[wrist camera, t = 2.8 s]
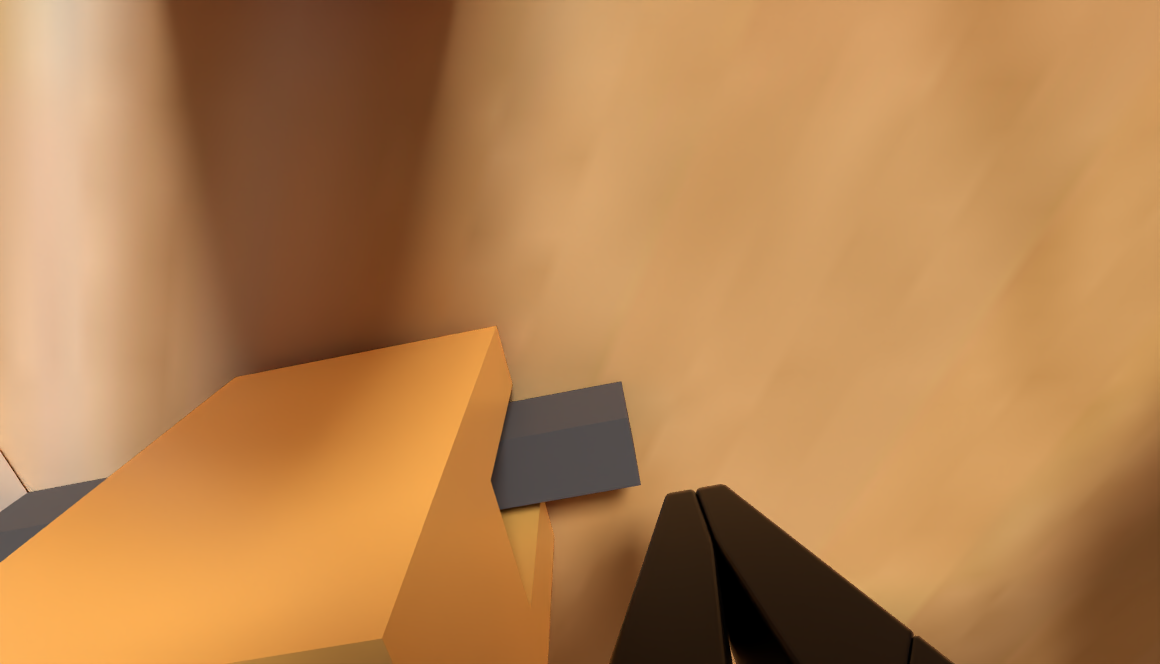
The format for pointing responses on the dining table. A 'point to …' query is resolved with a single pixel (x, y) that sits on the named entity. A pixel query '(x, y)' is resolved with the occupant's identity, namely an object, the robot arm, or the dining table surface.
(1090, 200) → the dining table surface
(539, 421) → the bar
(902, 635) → the robot arm
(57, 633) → the notched orange cube
